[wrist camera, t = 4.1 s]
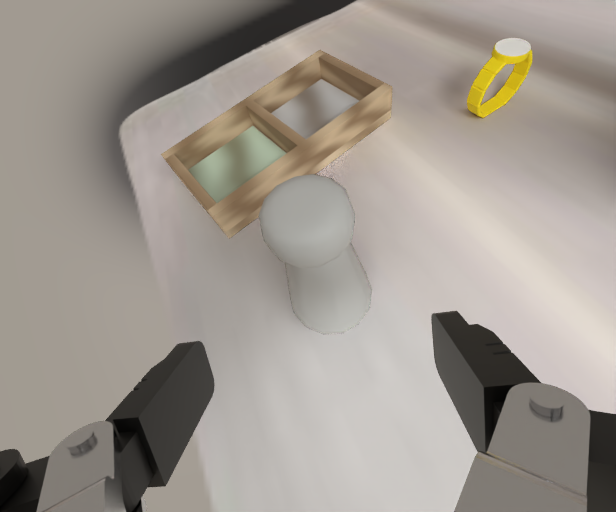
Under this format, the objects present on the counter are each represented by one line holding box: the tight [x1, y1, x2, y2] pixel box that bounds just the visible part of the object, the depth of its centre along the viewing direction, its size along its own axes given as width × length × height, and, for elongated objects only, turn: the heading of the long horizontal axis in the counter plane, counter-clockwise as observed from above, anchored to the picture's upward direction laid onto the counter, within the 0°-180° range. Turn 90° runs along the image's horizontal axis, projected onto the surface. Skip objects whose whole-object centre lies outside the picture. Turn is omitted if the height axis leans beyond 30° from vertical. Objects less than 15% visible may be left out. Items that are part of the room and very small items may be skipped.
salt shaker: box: [259, 174, 372, 334], centre depth 19 cm, size 6×6×13 cm
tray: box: [161, 50, 392, 239], centre depth 32 cm, size 21×11×4 cm, turn 129°
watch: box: [467, 38, 532, 118], centre depth 29 cm, size 6×3×6 cm, turn 122°
